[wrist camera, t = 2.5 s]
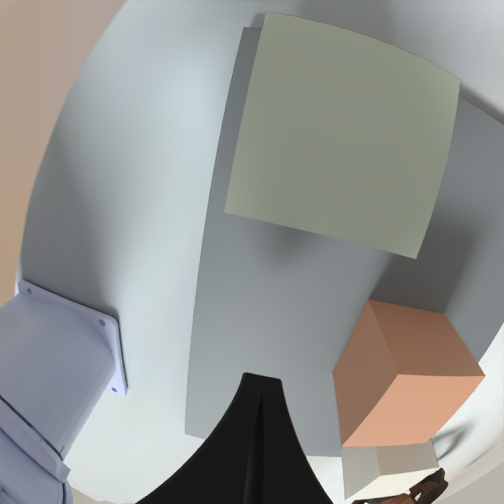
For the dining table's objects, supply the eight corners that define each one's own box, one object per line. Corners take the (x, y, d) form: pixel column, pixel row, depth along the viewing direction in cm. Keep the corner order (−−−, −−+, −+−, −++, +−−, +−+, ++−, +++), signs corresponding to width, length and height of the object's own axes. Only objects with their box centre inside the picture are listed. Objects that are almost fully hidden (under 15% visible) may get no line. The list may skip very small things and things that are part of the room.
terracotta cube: (332, 372, 15) (341, 446, 10) (367, 299, 13) (398, 374, 8) (403, 378, 15) (425, 442, 10) (444, 313, 13) (485, 376, 8)
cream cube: (340, 449, 18) (344, 500, 13) (369, 416, 16) (380, 475, 11) (391, 448, 18) (400, 494, 13) (423, 415, 16) (439, 466, 11)
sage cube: (248, 181, 11) (224, 212, 7) (273, 63, 9) (266, 11, 5) (367, 210, 11) (415, 258, 7) (394, 97, 9) (460, 78, 5)
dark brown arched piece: (411, 440, 20) (454, 490, 13) (421, 433, 26) (455, 472, 19) (320, 502, 21) (355, 550, 15) (350, 486, 27) (379, 525, 20)
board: (187, 424, 20) (184, 433, 19) (246, 34, 10) (243, 27, 9) (394, 446, 19) (396, 454, 18) (547, 168, 9) (557, 171, 8)
